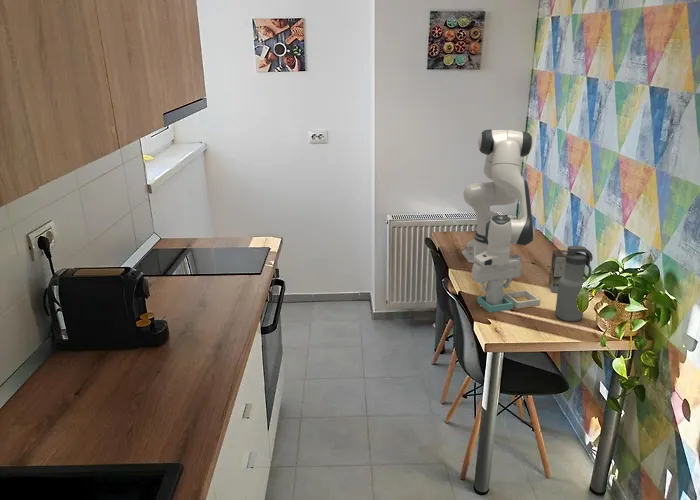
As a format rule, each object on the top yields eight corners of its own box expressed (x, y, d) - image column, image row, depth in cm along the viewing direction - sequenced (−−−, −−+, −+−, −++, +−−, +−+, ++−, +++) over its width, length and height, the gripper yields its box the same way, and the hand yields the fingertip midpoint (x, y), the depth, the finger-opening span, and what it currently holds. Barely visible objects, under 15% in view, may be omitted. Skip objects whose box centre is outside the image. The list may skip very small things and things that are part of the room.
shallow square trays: (476, 302, 220) (477, 296, 219) (525, 295, 225) (525, 289, 224) (489, 312, 211) (489, 306, 210) (539, 305, 216) (540, 299, 215)
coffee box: (567, 293, 226) (572, 257, 221) (551, 292, 228) (555, 256, 222) (563, 284, 235) (568, 250, 229) (548, 284, 236) (552, 249, 231)
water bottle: (577, 310, 211) (586, 243, 202) (587, 322, 202) (597, 251, 192) (551, 310, 211) (559, 243, 202) (560, 322, 202) (568, 252, 192)
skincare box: (493, 301, 220) (495, 274, 216) (502, 304, 217) (504, 277, 213) (484, 306, 216) (486, 278, 212) (494, 309, 213) (496, 281, 209)
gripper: (517, 251, 215) (514, 283, 220) (470, 257, 210) (468, 289, 215) (526, 256, 209) (522, 289, 214) (478, 262, 204) (476, 295, 209)
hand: (495, 289), depth 214 cm, fingers open, 8 cm apart
